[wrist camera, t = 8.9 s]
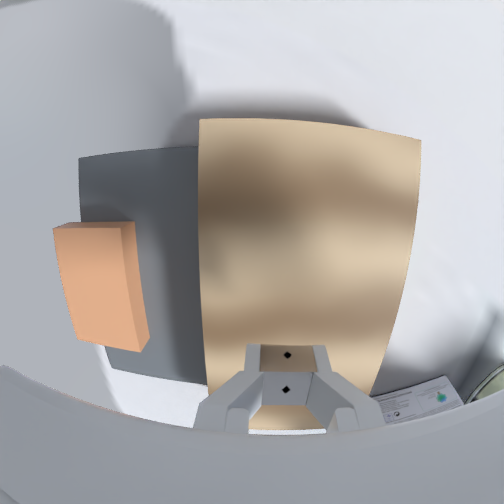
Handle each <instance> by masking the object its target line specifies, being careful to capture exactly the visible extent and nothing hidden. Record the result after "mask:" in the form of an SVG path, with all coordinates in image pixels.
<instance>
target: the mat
mask: <svg viewBox="0 0 504 504" xmlns="http://www.w3.org/2000/svg"><path fill="white" fill-rule="evenodd" d="M198 153H199V146H197V147H175V148H160V149H148V150H137V151H128V152H119V153H110V154H103V155H96V156H89V157H83V158H79V197H80V212H81V222H123V221H135V232H136V244H137V254H138V263H139V272H140V280H141V287H142V294H143V301H144V307H145V313H146V319H147V324H148V330H149V335H150V338H149V340H148V342H147V343H146V345H145V346H144V348H143V350H142V351H141V352H135V351H129V350H124V349H119V348H114V347H109V346H105V348H106V351H107V354H108V358H109V361H110V364H111V367H112V368H113V369H118V370H122V371H127V372H131V373H136V374H141V375H146V376H151V377H157V378H163V379H169V380H175V381H182V382H190V383H198V384H206V385H208V384H207V374H206V363H205V352H204V339H203V326H202V310H201V292H200V270H199V238H198Z"/></svg>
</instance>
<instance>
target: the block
mask: <svg viewBox="0 0 504 504" xmlns="http://www.w3.org/2000/svg"><path fill="white" fill-rule="evenodd" d="M53 234H54V241H55V248H56V253H57V260H58V265H59V270H60V276H61V280H62V285H63V289H64V293H65V298H66V301H67V305H68V309H69V312H70V316H71V320H72V323H73V326H74V330H75V333H76V336H77V339H79V340H82V341H86V342H91V343H95V344H100V345H104V346H109V347H114V348H119V349H124V350H129V351H135V352H141V351H142V350H143V348H144V346H145V345H146V343H147V342H148V340H149V338H150V335H149V330H148V324H147V319H146V313H145V307H144V301H143V294H142V287H141V280H140V272H139V263H138V254H137V244H136V232H135V221H123V222H73V223H72V222H71V223H67V224H64V225H61V226H58V227H56V228H54V229H53Z"/></svg>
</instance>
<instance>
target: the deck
mask: <svg viewBox="0 0 504 504" xmlns="http://www.w3.org/2000/svg"><path fill="white" fill-rule="evenodd" d="M420 168H421V140H418V139H414V138H410V137H406V136H401V135H397V134H392V133H387V132H382V131H377V130H371V129H365V128H359V127H352V126H345V125H338V124H330V123H321V122H311V121H299V120H284V119H262V118H215V119H200V121H199V153H198V238H199V270H200V292H201V310H202V326H203V339H204V352H205V363H206V374H207V384H208V394H209V395H211V394H212V393H213V392H215V391H216V390H217V389H218V388H220V387H221V386H222V385H223V384H224V383H226V382H227V381H228V380H229V379H231V378H232V377H233V376H234V375H235V374H237V373H238V372H239V371H244V363H245V355H246V346H247V343H253V344H260V347H261V344H272V345H325V346H326V350H327V354H328V357H329V361H330V364H331V368H332V372H337V373H339V374H340V375H341V376H342V377H344V378H345V379H346V380H348V381H349V382H350V383H352V384H353V385H354V386H356V387H357V388H358V389H360V390H361V391H363V392H364V393H365V394H367V395H368V396H369V394H370V392H371V389H372V387H373V384H374V382H375V379H376V377H377V374H378V371H379V369H380V366H381V363H382V360H383V357H384V355H385V352H386V349H387V346H388V343H389V339H390V336H391V333H392V330H393V326H394V323H395V319H396V316H397V312H398V309H399V305H400V301H401V297H402V293H403V288H404V284H405V280H406V275H407V270H408V265H409V260H410V255H411V249H412V243H413V237H414V230H415V223H416V215H417V206H418V196H419V184H420ZM249 429H257V430H306V429H324V427H323V426H322V425H321V424H320V422H319V421H318V420H317V419H316V418H315V417H314V416H313V414H312V413H311V412H310V411H309V410H308V409H307V407H306V405H261V407H260V408H259V409H258V411H257V412H256V413H255V414H254V415H253V417H252V418H251V419H250V420H249Z"/></svg>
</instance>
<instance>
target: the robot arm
mask: <svg viewBox="0 0 504 504" xmlns="http://www.w3.org/2000/svg"><path fill="white" fill-rule="evenodd" d="M261 405H306V407H307V409H308V410H309V411H310V412H311V413H312V414H313V416H314V417H315V418H316V419H317V420H318V421H319V422H320V424H321V425H322V426H323V427H324V428H325V429H326V430H327V432H326V433H325V434H307V435H258V434H248V433H249V420H250V419H251V418H252V417H253V415H254V414H255V413H256V412H257V411H258V409H259V408H260V407H261ZM0 504H504V389H503V390H500V391H498V392H496V393H494V394H491V395H489V396H486V397H484V398H482V399H479V400H476V401H474V402H471V403H468V404H466V405H463V406H460V407H457V408H454V409H451V410H448V411H445V412H441V413H438V414H434V415H431V416H427V417H423V418H419V419H415V420H411V421H407V422H402V423H398V424H393V425H387V426H386V423H385V420H384V417H383V414H382V412H381V409H380V406H379V404H378V402H376V401H375V400H373V399H372V398H371V397H369V396H368V395H367V394H365V393H364V392H363V391H361V390H360V389H358V388H357V387H356V386H354V385H353V384H352V383H350V382H349V381H348V380H346V379H345V378H344V377H342V376H341V375H340V374H339V373H337V372H332V368H331V364H330V361H329V357H328V354H327V350H326V346H325V345H272V344H261V347H260V344H253V343H247V346H246V355H245V363H244V371H239V372H238V373H237V374H235V375H234V376H233V377H232V378H231V379H229V380H228V381H227V382H226V383H224V384H223V385H222V386H221V387H220V388H218V389H217V390H216V391H215V392H213V393H212V394H211V395H209V396H208V397H207V398H206V399H204V400H203V401H202V402H201V403H199V407H198V411H197V414H196V418H195V422H194V426H193V428H188V427H182V426H176V425H171V424H165V423H161V422H156V421H151V420H147V419H143V418H139V417H135V416H131V415H127V414H124V413H120V412H117V411H113V410H110V409H107V408H103V407H100V406H97V405H94V404H91V403H89V402H86V401H83V400H80V399H77V398H75V397H72V396H70V395H67V394H65V393H62V392H60V391H58V390H55V389H53V388H51V387H48V386H46V385H44V384H42V383H40V382H37V381H35V380H33V379H31V378H29V377H27V376H25V375H23V374H21V373H20V372H18V371H16V370H14V369H13V368H11V367H9V366H5V365H2V366H0Z"/></svg>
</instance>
